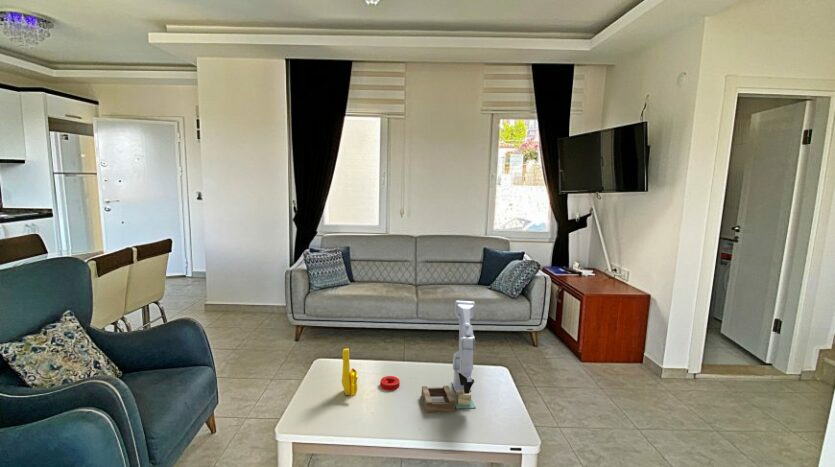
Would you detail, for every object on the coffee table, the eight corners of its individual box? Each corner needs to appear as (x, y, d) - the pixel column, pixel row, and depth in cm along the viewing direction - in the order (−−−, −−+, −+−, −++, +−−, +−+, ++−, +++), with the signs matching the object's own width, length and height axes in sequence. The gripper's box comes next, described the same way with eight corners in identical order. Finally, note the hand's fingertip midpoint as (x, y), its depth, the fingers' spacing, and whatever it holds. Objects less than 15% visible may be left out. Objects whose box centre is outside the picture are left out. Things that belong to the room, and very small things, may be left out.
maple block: (456, 400, 199) (456, 390, 198) (468, 400, 199) (469, 390, 199) (458, 405, 195) (458, 394, 194) (470, 404, 196) (471, 394, 195)
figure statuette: (357, 402, 194) (358, 356, 192) (340, 402, 193) (341, 357, 190) (358, 383, 212) (359, 341, 209) (342, 383, 211) (343, 342, 208)
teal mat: (452, 398, 201) (452, 397, 201) (470, 398, 202) (470, 397, 202) (456, 408, 192) (456, 408, 192) (475, 408, 193) (475, 407, 193)
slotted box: (421, 396, 202) (421, 386, 202) (447, 395, 204) (448, 385, 204) (426, 413, 188) (427, 402, 187) (454, 412, 190) (455, 401, 189)
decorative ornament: (403, 386, 212) (403, 380, 211) (389, 392, 204) (390, 386, 204) (389, 379, 218) (390, 373, 218) (376, 385, 211) (376, 379, 210)
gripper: (454, 355, 201) (453, 381, 203) (461, 368, 187) (459, 397, 189) (468, 354, 202) (467, 381, 204) (477, 368, 188) (475, 396, 190)
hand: (464, 389), depth 196 cm, fingers open, 7 cm apart
